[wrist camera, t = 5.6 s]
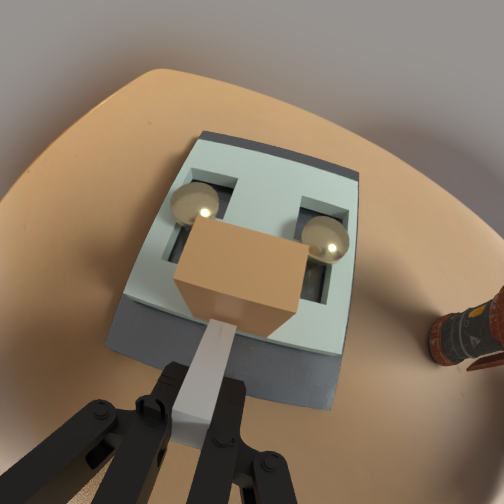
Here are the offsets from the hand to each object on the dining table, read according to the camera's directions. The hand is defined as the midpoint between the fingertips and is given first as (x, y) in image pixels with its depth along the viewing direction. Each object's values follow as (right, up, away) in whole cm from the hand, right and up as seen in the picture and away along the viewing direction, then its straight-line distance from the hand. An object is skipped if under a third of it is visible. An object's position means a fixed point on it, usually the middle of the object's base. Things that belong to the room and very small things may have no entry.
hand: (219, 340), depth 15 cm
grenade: (+22, -5, +7) cm, 23 cm away
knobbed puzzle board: (+2, +6, +8) cm, 10 cm away
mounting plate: (+2, +5, +9) cm, 11 cm away
